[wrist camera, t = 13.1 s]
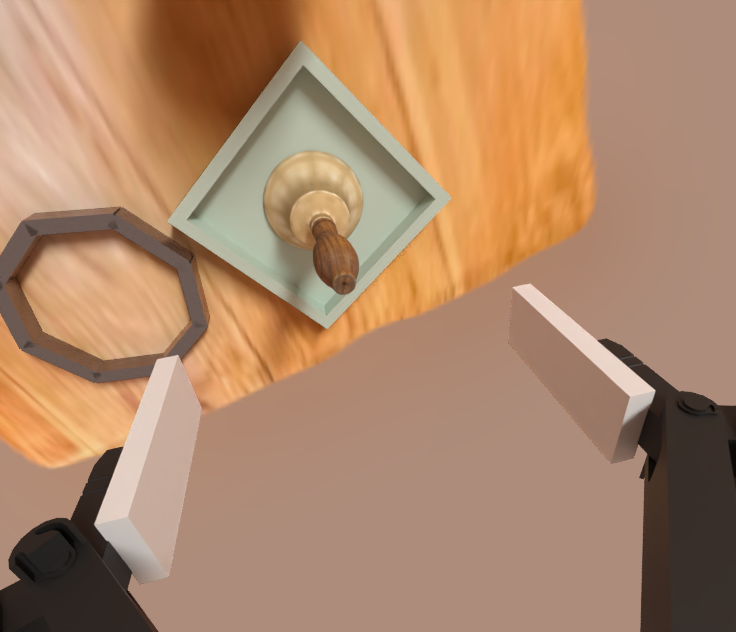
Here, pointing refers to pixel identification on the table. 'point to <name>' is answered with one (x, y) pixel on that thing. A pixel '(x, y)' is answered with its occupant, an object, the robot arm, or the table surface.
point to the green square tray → (290, 136)
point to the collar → (9, 301)
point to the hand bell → (317, 213)
